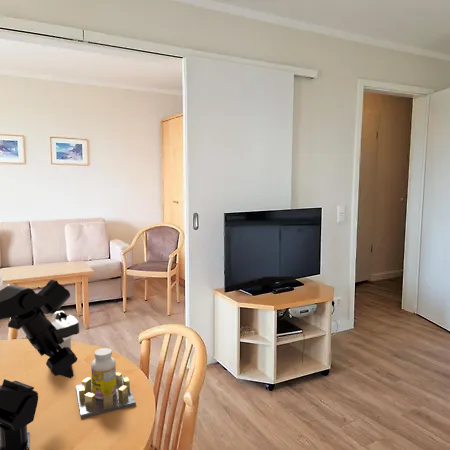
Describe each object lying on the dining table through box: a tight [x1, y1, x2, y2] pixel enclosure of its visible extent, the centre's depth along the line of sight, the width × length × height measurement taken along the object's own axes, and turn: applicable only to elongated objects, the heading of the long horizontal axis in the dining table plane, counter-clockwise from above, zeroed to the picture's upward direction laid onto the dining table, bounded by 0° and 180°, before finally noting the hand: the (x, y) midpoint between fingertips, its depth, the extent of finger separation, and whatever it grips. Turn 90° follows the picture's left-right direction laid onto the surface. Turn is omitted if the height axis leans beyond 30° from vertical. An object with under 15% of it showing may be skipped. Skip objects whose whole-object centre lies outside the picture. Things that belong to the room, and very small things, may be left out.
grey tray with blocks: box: [75, 371, 137, 419], centre depth 117 cm, size 16×14×4 cm
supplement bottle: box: [90, 347, 117, 399], centre depth 116 cm, size 7×7×13 cm
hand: (64, 367), depth 108 cm, fingers open, 9 cm apart
